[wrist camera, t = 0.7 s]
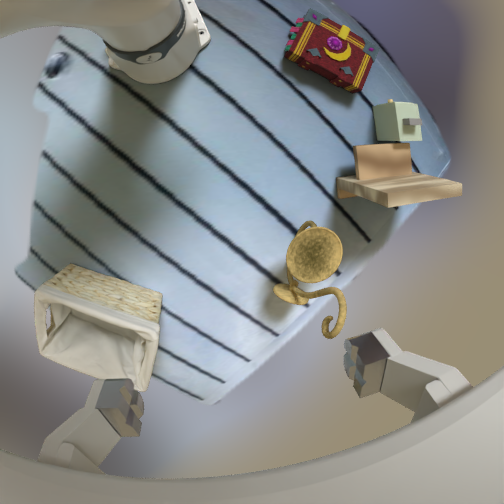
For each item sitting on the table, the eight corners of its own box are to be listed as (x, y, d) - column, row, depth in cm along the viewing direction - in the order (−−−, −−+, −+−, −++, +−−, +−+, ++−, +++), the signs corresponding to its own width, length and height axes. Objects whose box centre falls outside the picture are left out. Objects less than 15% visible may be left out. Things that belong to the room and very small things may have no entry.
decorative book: (351, 95, 46) (363, 91, 41) (275, 56, 42) (282, 47, 38) (368, 53, 43) (381, 47, 38) (297, 14, 39) (305, 3, 34)
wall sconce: (303, 283, 58) (353, 363, 35) (259, 273, 56) (290, 358, 33) (327, 219, 54) (400, 271, 31) (282, 205, 52) (335, 253, 29)
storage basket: (172, 290, 55) (161, 334, 42) (156, 349, 60) (147, 396, 46) (66, 255, 50) (31, 287, 36) (63, 317, 54) (36, 355, 41)
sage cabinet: (371, 102, 47) (400, 96, 37) (393, 102, 47) (423, 98, 38) (377, 140, 50) (406, 141, 40) (398, 139, 50) (428, 141, 41)
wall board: (332, 146, 49) (384, 148, 32) (399, 141, 50) (460, 146, 33) (338, 197, 53) (388, 221, 36) (403, 188, 54) (461, 207, 37)
